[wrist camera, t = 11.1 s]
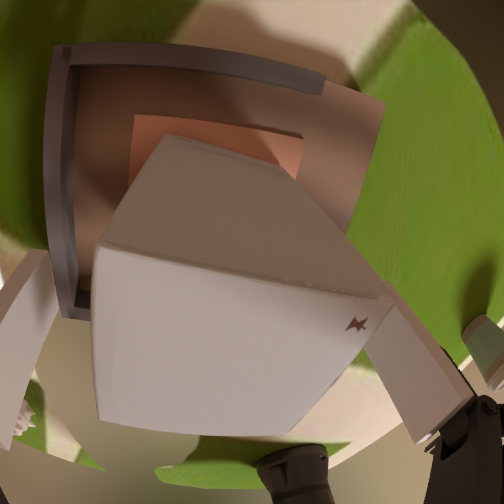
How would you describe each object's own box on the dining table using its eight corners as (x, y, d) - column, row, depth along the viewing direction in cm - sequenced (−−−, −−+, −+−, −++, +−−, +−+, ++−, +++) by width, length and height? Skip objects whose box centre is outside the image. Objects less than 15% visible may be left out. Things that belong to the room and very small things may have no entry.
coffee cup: (448, 351, 41) (483, 402, 31) (467, 314, 36) (510, 368, 26) (478, 337, 42) (512, 382, 32) (496, 302, 37) (537, 348, 27)
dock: (302, 296, 28) (319, 334, 23) (79, 278, 23) (62, 317, 18) (364, 99, 19) (404, 106, 15) (85, 52, 14) (54, 45, 10)
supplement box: (164, 129, 15) (89, 229, 5) (285, 166, 18) (410, 301, 7) (136, 241, 18) (92, 423, 8) (243, 266, 21) (289, 440, 10)
